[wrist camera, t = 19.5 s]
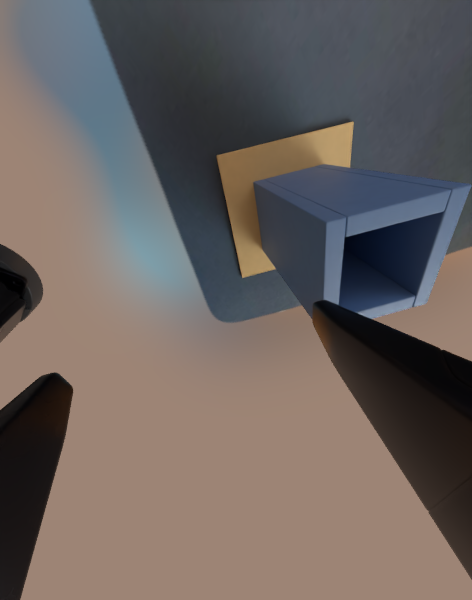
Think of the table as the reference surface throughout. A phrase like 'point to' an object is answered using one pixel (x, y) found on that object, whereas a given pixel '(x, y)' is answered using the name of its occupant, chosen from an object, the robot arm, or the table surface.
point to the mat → (268, 163)
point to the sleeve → (358, 235)
